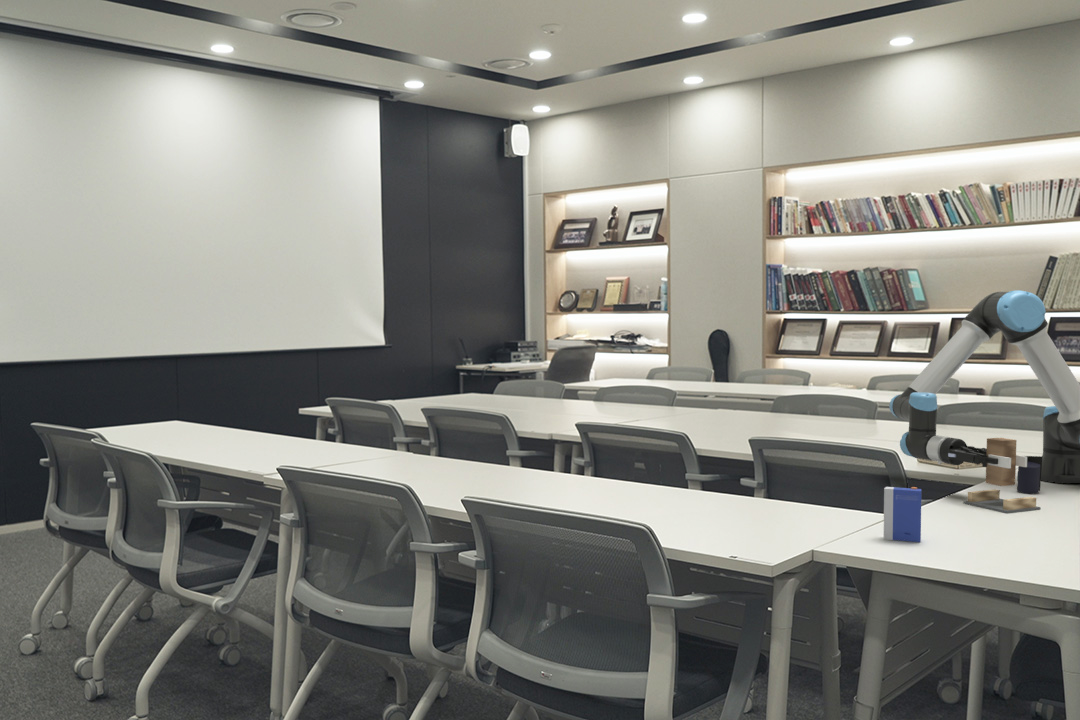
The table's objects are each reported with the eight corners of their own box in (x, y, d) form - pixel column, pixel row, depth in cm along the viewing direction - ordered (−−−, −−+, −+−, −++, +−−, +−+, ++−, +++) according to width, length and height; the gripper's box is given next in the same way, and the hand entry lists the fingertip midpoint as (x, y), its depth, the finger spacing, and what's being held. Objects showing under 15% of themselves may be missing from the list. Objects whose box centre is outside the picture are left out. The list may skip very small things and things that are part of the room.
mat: (995, 499, 255) (996, 497, 254) (1040, 509, 242) (1040, 507, 242) (963, 503, 250) (963, 501, 250) (1006, 513, 237) (1006, 511, 237)
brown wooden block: (999, 481, 249) (1000, 437, 248) (1015, 484, 244) (1016, 439, 244) (985, 482, 247) (986, 438, 246) (1001, 486, 242) (1002, 440, 242)
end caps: (994, 498, 254) (994, 489, 254) (1036, 507, 242) (1036, 497, 242) (967, 501, 250) (967, 491, 250) (1008, 510, 238) (1008, 500, 238)
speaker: (1018, 487, 271) (1020, 453, 269) (1040, 490, 268) (1042, 456, 266) (1014, 494, 264) (1017, 459, 263) (1037, 497, 261) (1040, 462, 260)
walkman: (920, 539, 210) (921, 487, 209) (920, 542, 207) (921, 489, 207) (884, 536, 213) (884, 485, 212) (883, 539, 210) (883, 487, 210)
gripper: (971, 461, 265) (1042, 474, 244) (923, 465, 259) (992, 479, 237) (972, 435, 265) (1043, 446, 244) (923, 438, 258) (992, 450, 237)
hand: (1017, 462), depth 240 cm, fingers closed on brown wooden block, 5 cm apart
